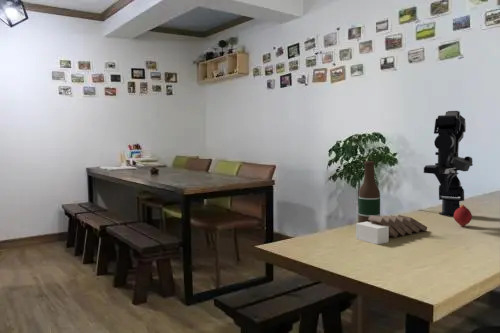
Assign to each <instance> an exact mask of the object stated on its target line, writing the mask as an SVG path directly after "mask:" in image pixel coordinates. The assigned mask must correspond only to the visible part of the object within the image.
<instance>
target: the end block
mask: <svg viewBox="0 0 500 333" xmlns="http://www.w3.org/2000/svg"><path fill="white" fill-rule="evenodd" d="M389 237H390V236H389V226H384V225H380V224H375V223H371V222H361V223H359V222H357V223H355V239H356V240H359V241H363V242H367V243H370V244H373V245H383V244H386V243H389V240H390V239H389Z"/></svg>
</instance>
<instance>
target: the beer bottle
mask: <svg viewBox="0 0 500 333" xmlns="http://www.w3.org/2000/svg"><path fill="white" fill-rule="evenodd" d="M363 164H364V175H363V176H364V177H363V182H362V184H361V186H360V188H359V190H358V197H357V198H358V202H357V204H358V211H357V212H358V216H357V218H358V219H357V220H358V221H357V223H361V222H370V221H369V220H368V218H369V216H370V215H372V216H381V191H380V189H379V187H378V185H377V184H376V178H375V177H376V176H375V165H376V163H375V161H374V160H365V161H364V162H363Z"/></svg>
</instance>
